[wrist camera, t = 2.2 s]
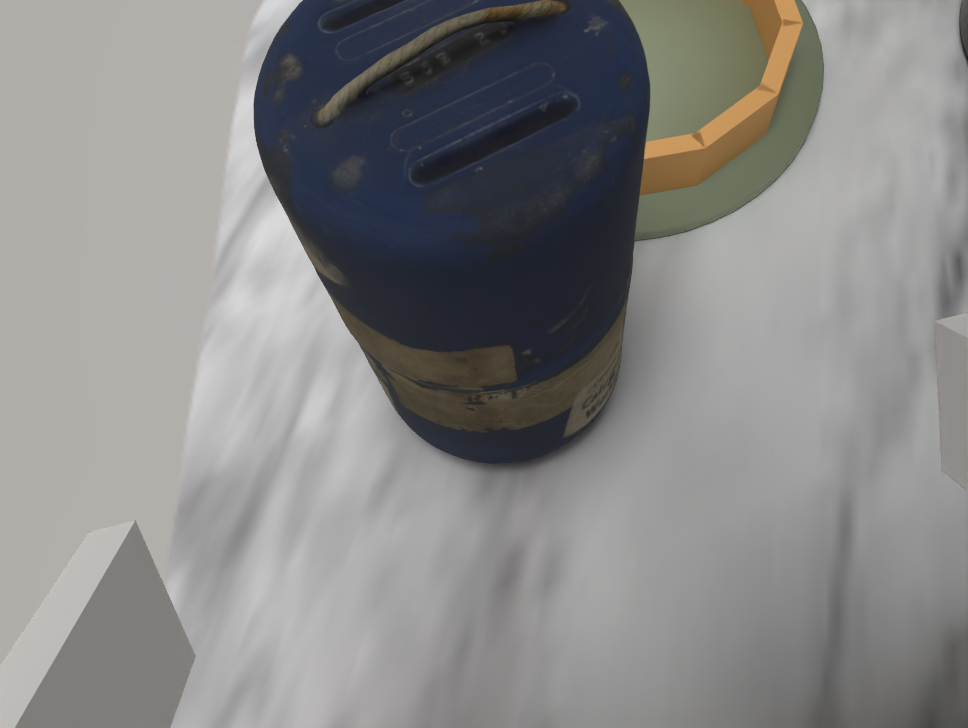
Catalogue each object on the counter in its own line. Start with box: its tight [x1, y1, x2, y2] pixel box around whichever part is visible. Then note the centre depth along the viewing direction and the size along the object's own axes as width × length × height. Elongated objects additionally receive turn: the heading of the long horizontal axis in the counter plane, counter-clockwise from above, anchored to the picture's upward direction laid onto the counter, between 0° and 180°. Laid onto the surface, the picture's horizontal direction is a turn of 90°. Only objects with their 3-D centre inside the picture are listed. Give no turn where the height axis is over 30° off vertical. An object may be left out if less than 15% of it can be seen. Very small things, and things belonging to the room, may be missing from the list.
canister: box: [254, 0, 650, 463], centre depth 26 cm, size 10×10×18 cm
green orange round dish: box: [619, 0, 824, 240], centre depth 38 cm, size 18×18×3 cm
